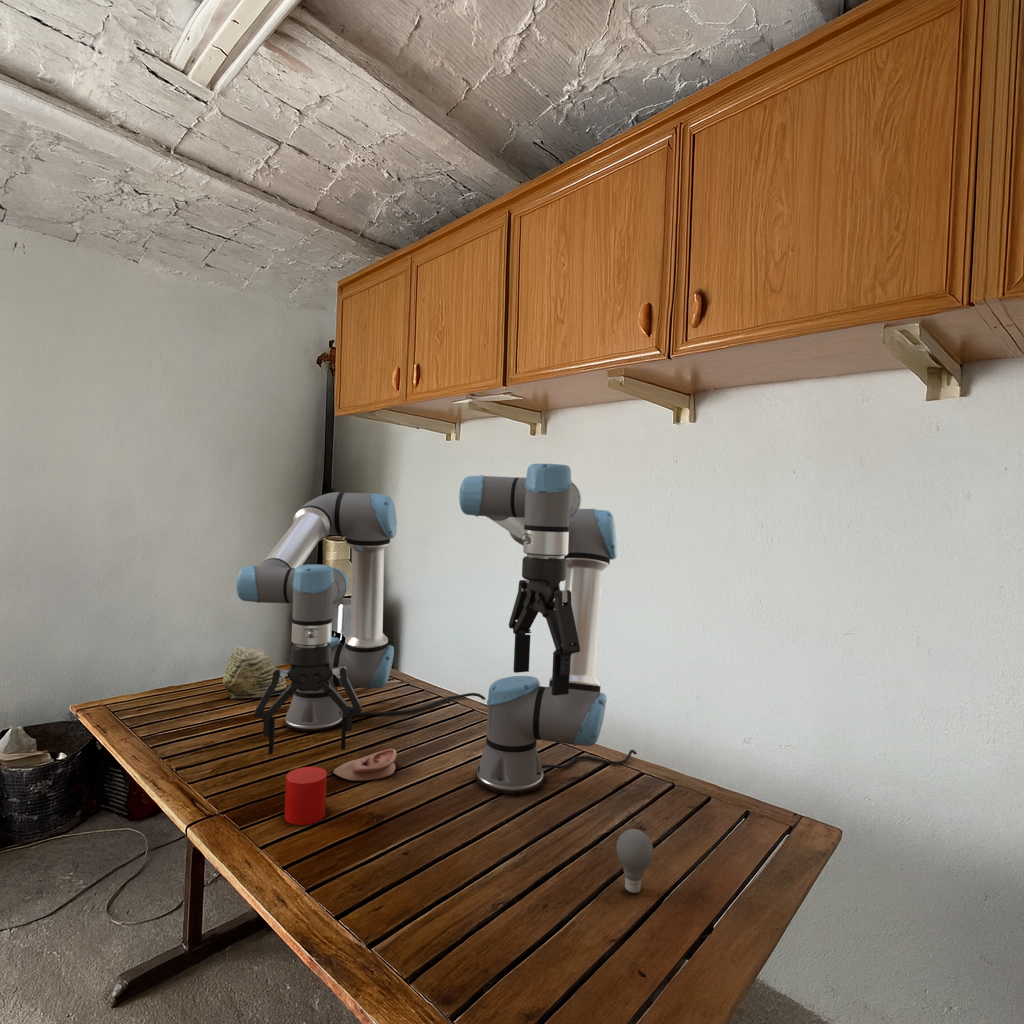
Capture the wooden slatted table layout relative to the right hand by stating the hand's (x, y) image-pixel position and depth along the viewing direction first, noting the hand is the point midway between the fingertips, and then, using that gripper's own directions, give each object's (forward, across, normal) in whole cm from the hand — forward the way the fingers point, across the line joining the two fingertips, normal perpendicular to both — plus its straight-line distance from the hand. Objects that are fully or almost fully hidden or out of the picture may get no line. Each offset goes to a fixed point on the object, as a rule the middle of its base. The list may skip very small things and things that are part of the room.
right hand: (539, 682), depth 106 cm
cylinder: (+34, -37, -31) cm, 59 cm away
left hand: (+21, -37, -31) cm, 53 cm away
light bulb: (+34, +9, +15) cm, 38 cm away
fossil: (+34, -119, -35) cm, 128 cm away
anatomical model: (+34, -52, -16) cm, 64 cm away
